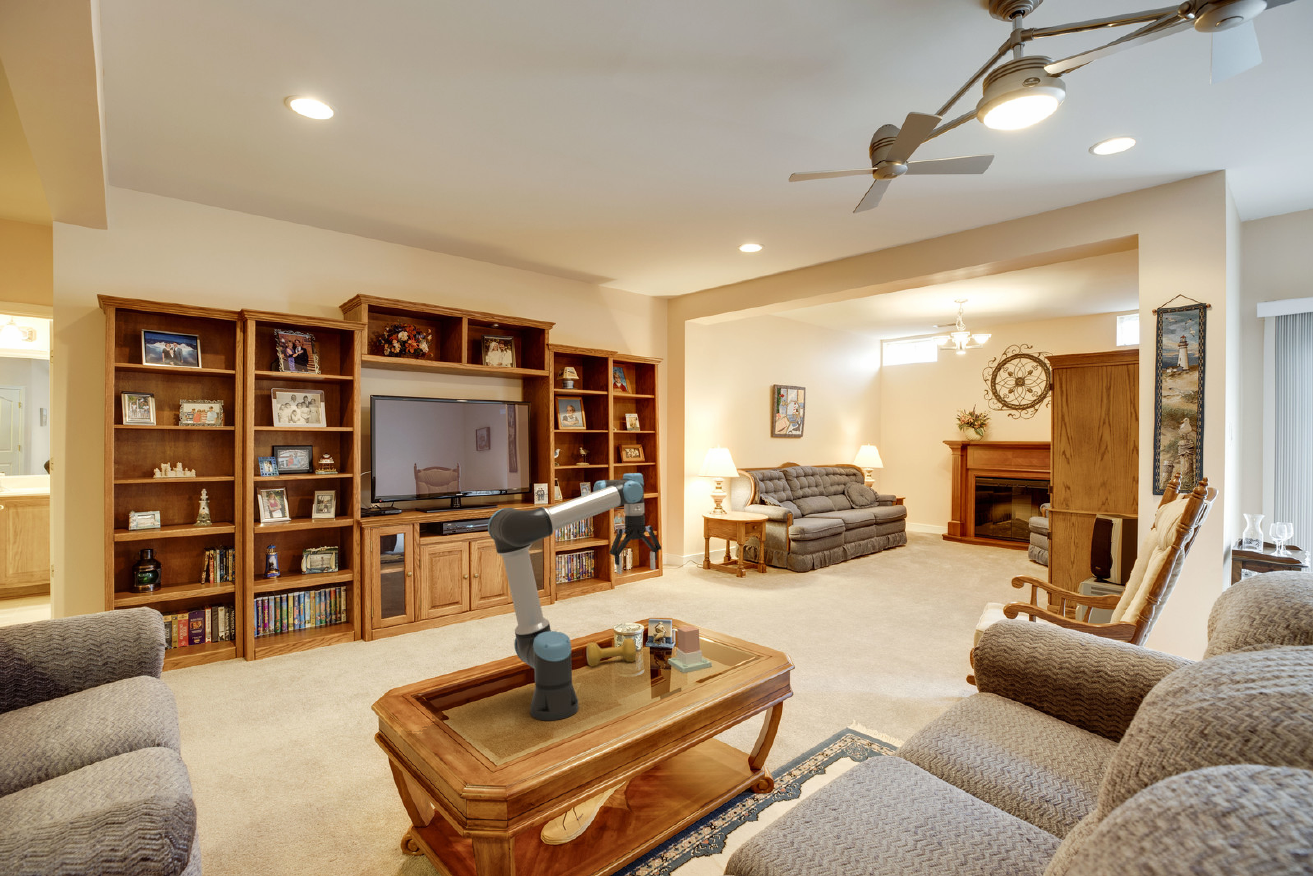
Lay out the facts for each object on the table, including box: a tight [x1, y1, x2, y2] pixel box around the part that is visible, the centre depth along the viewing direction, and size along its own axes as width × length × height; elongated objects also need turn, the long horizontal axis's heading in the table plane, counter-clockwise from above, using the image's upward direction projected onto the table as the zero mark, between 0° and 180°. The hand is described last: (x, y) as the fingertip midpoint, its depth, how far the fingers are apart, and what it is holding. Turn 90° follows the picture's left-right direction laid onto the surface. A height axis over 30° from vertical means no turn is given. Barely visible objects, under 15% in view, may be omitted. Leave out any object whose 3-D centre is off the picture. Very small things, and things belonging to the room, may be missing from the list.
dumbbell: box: [586, 637, 637, 668], centre depth 234 cm, size 19×9×8 cm, turn 103°
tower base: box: [667, 648, 712, 674], centre depth 228 cm, size 12×12×6 cm
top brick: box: [676, 625, 701, 654], centre depth 228 cm, size 6×6×8 cm
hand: (636, 571), depth 226 cm, fingers open, 13 cm apart
